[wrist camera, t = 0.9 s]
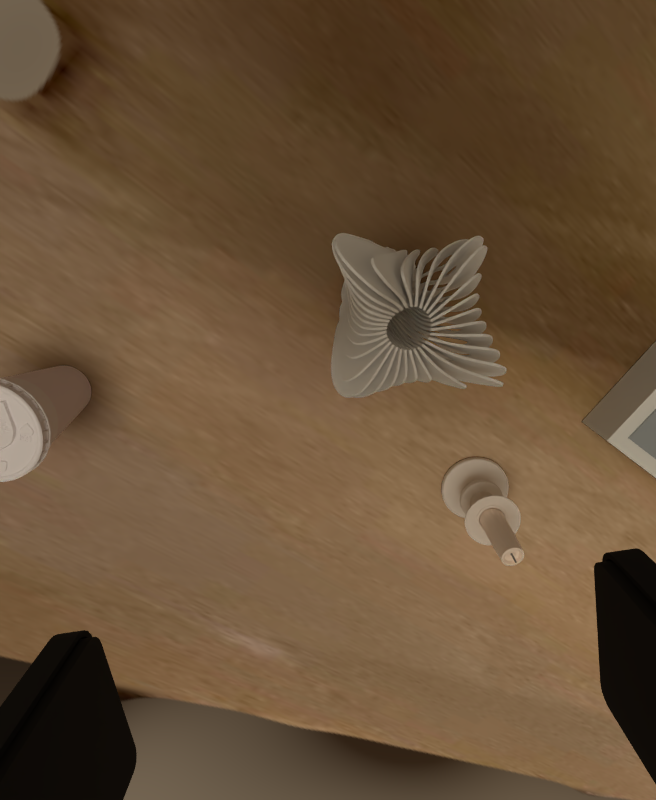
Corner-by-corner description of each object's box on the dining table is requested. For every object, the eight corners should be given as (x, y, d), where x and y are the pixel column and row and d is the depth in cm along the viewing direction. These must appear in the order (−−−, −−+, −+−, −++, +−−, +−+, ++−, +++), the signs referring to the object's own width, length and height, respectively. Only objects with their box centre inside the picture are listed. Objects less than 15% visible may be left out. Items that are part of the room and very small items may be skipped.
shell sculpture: (446, 342, 39) (532, 424, 22) (333, 353, 40) (332, 441, 22) (442, 224, 37) (535, 212, 20) (322, 236, 37) (311, 235, 20)
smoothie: (124, 377, 40) (19, 447, 27) (86, 444, 42) (-31, 540, 29) (46, 330, 40) (-103, 378, 26) (10, 400, 41) (-147, 479, 28)
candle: (519, 493, 43) (575, 571, 33) (463, 527, 44) (500, 613, 34) (485, 443, 42) (531, 508, 32) (428, 479, 43) (456, 554, 33)
